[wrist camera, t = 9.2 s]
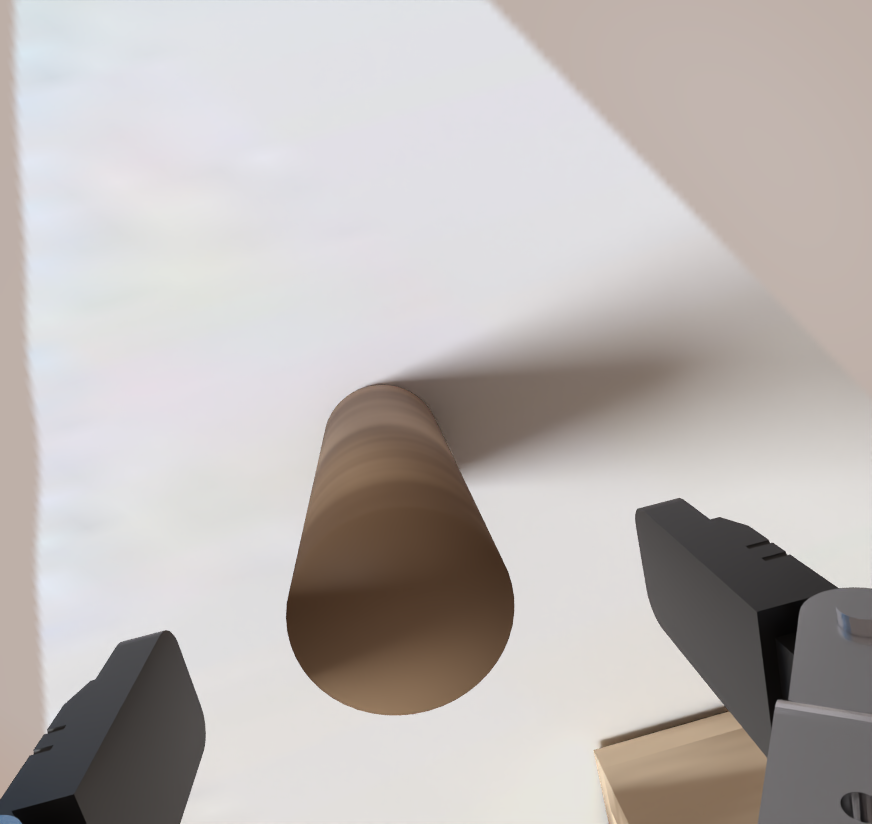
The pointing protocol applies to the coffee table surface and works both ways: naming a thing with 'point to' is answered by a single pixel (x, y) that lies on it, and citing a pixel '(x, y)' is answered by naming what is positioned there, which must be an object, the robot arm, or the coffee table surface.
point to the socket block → (684, 775)
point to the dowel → (395, 564)
